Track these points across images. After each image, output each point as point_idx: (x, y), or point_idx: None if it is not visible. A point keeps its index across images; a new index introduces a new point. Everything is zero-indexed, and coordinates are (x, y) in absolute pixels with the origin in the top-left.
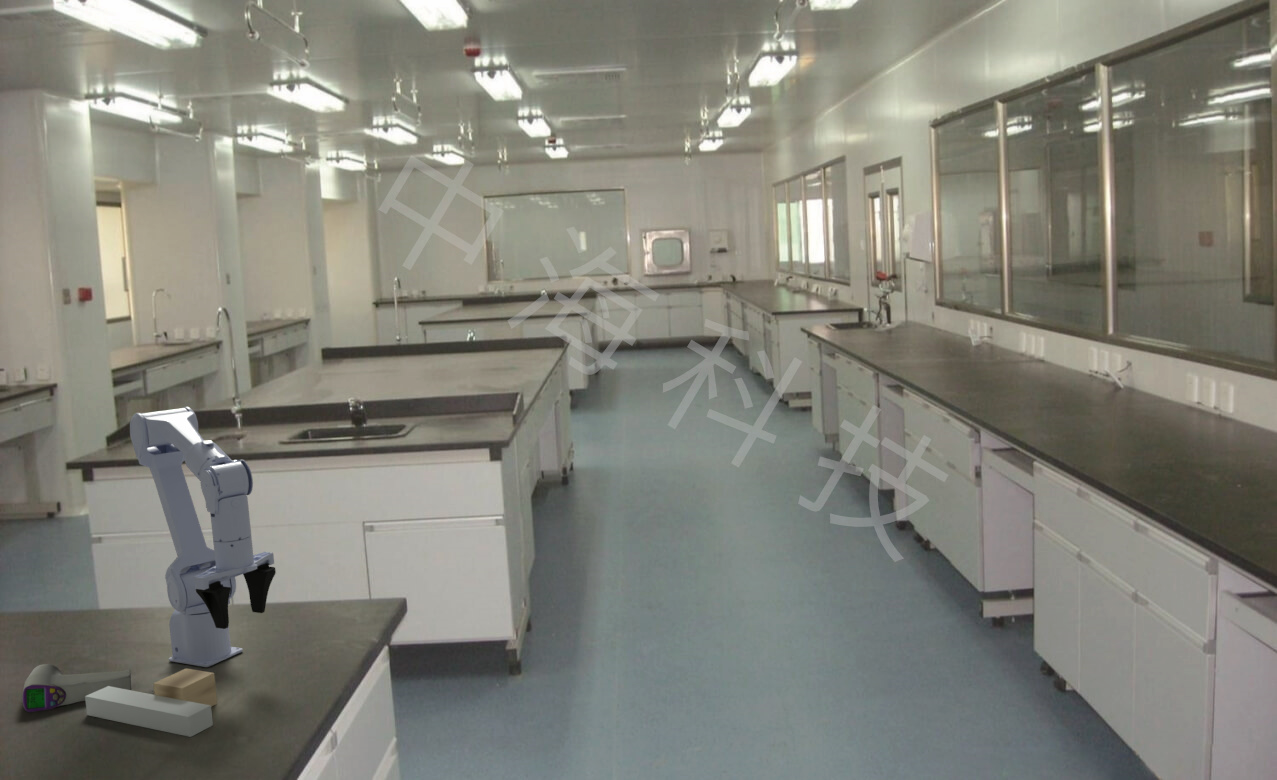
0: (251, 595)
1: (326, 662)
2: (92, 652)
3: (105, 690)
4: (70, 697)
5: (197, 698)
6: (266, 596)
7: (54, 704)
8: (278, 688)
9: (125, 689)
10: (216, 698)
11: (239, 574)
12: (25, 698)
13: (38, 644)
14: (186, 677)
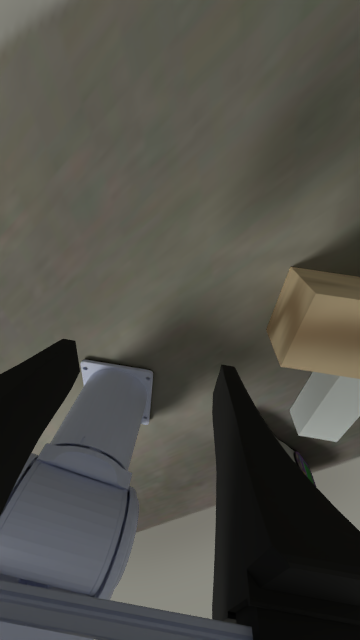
0: (45, 418)
1: (43, 160)
2: (150, 483)
3: (316, 431)
4: (289, 452)
5: (351, 284)
6: (16, 368)
7: (298, 455)
8: (204, 178)
9: (315, 411)
10: (294, 270)
11: (52, 598)
12: (314, 483)
13: (148, 515)
14: (338, 337)
